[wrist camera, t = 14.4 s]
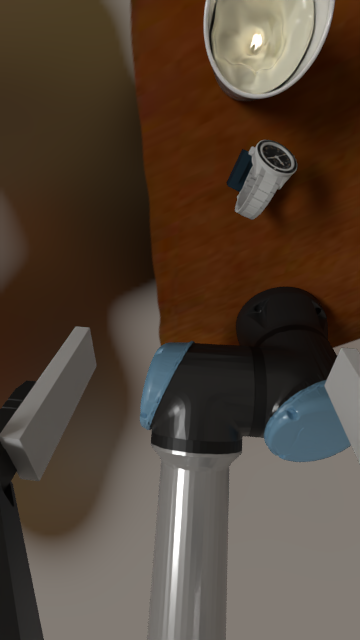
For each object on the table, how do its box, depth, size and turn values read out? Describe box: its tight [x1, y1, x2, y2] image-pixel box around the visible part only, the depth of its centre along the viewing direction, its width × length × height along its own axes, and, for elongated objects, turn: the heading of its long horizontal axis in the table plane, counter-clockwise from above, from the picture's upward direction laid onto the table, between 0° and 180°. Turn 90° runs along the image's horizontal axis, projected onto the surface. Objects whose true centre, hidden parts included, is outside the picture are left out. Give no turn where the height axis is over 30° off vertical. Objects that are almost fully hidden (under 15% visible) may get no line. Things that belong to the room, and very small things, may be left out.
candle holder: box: [204, 0, 335, 101], centre depth 27 cm, size 10×10×12 cm
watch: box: [227, 140, 297, 219], centre depth 33 cm, size 6×8×11 cm
